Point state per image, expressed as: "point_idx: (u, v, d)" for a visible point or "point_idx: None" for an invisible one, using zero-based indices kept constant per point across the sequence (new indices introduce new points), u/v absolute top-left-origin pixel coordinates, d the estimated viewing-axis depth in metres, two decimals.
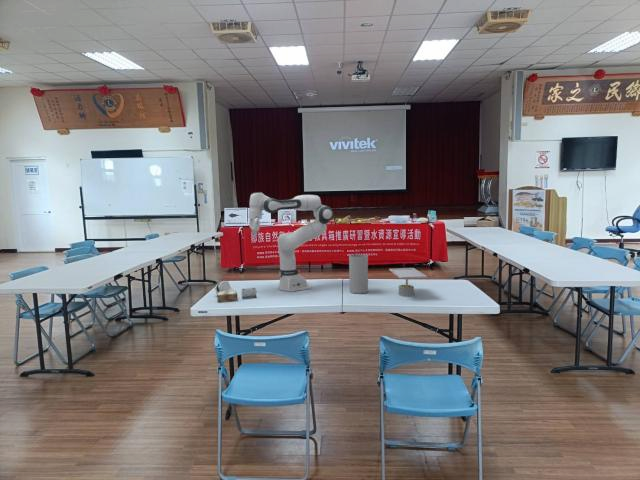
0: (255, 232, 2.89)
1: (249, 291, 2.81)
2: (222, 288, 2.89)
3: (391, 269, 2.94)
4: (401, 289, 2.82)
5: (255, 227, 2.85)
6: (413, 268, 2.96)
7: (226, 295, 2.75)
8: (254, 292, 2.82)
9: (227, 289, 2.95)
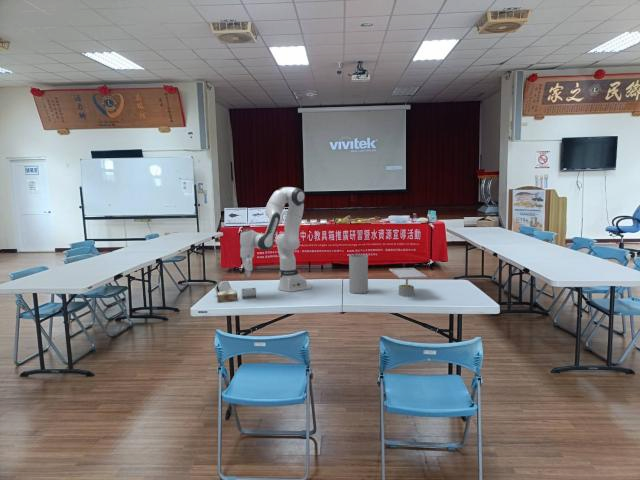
0: (248, 272, 2.76)
1: (249, 291, 2.81)
2: (222, 288, 2.89)
3: (391, 269, 2.94)
4: (401, 289, 2.82)
5: (248, 267, 2.71)
6: (413, 268, 2.96)
7: (226, 295, 2.75)
8: (254, 292, 2.82)
9: (227, 289, 2.95)
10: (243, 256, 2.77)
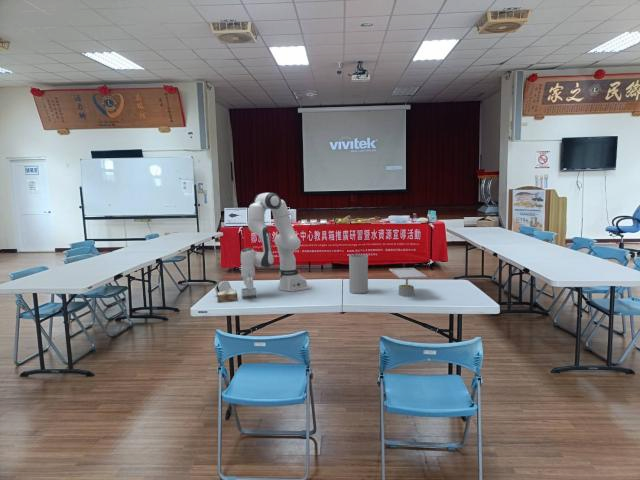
0: (249, 290, 2.79)
1: None
2: (222, 288, 2.89)
3: (391, 269, 2.94)
4: (401, 289, 2.82)
5: (249, 287, 2.73)
6: (413, 268, 2.96)
7: (226, 295, 2.75)
8: (254, 292, 2.82)
9: (227, 289, 2.95)
10: (244, 275, 2.78)
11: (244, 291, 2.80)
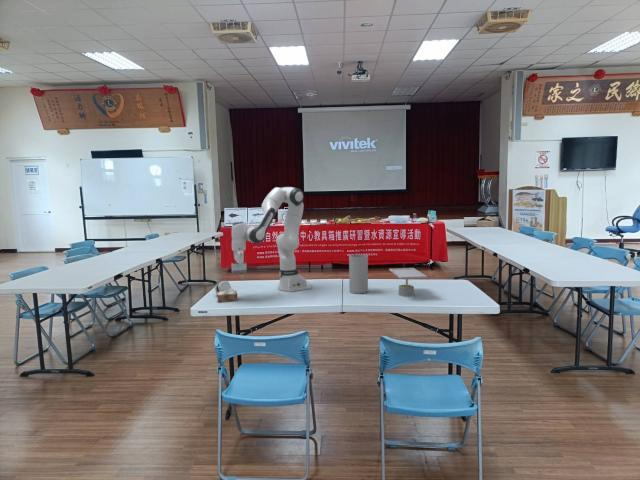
0: (239, 264, 2.74)
1: None
2: (222, 288, 2.89)
3: (391, 269, 2.94)
4: (401, 289, 2.82)
5: (239, 260, 2.69)
6: (413, 268, 2.96)
7: (226, 295, 2.75)
8: (244, 267, 2.78)
9: (227, 289, 2.96)
10: (234, 249, 2.74)
11: (234, 265, 2.76)
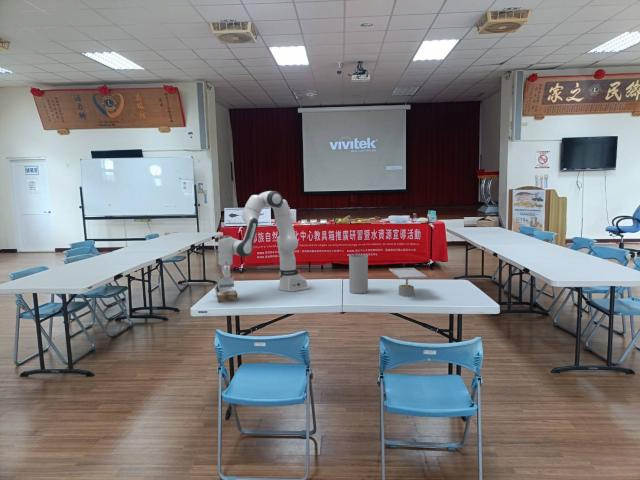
0: (226, 279, 2.73)
1: None
2: (222, 288, 2.90)
3: (391, 269, 2.94)
4: (401, 289, 2.82)
5: (225, 275, 2.67)
6: (413, 268, 2.96)
7: (226, 295, 2.75)
8: (231, 280, 2.76)
9: (227, 289, 2.96)
10: (221, 263, 2.72)
11: (221, 279, 2.74)
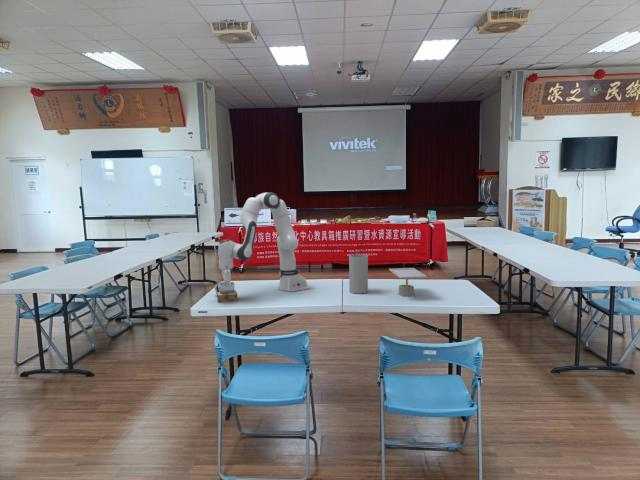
0: (227, 283, 2.72)
1: None
2: None
3: (391, 269, 2.94)
4: (401, 289, 2.82)
5: (226, 279, 2.67)
6: (413, 268, 2.96)
7: (226, 295, 2.75)
8: (232, 286, 2.77)
9: None
10: (221, 267, 2.72)
11: (222, 286, 2.75)
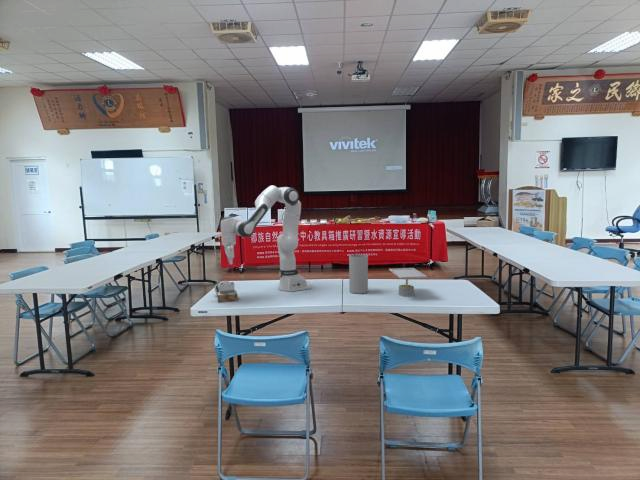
0: (230, 259, 2.73)
1: (227, 285, 2.76)
2: None
3: (391, 269, 2.94)
4: (401, 289, 2.82)
5: (229, 255, 2.68)
6: (413, 268, 2.96)
7: (226, 295, 2.75)
8: (232, 286, 2.77)
9: None
10: (224, 244, 2.73)
11: (222, 286, 2.75)
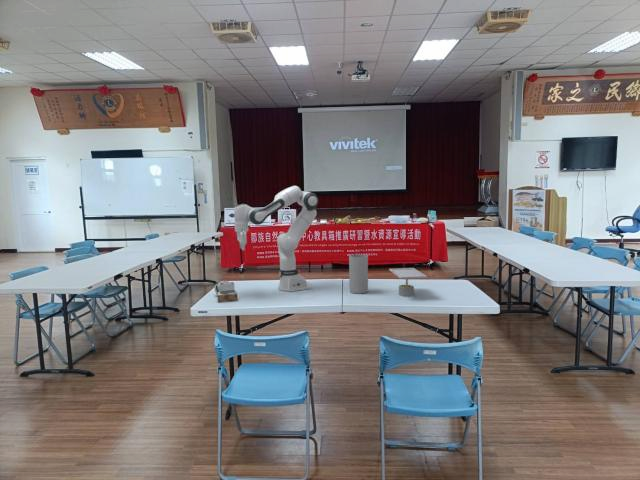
0: (243, 245, 2.82)
1: (227, 285, 2.76)
2: None
3: (391, 269, 2.94)
4: (401, 289, 2.82)
5: (242, 241, 2.78)
6: (413, 268, 2.96)
7: (226, 295, 2.75)
8: (232, 286, 2.77)
9: None
10: (237, 230, 2.83)
11: (222, 286, 2.75)
